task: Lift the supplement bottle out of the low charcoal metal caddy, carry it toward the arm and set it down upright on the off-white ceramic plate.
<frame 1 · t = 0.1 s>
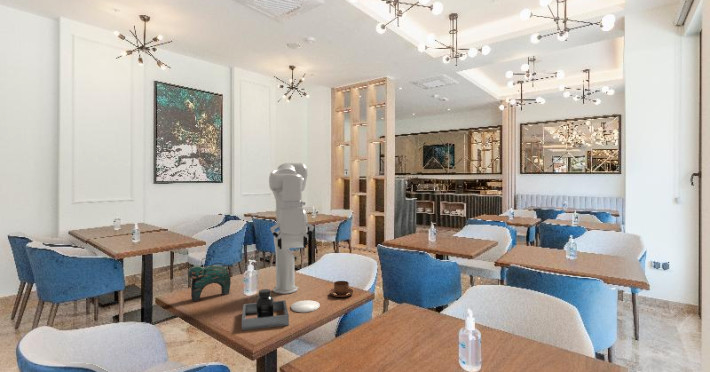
hand: (292, 247, 144), 31 cm above the table, tool pointing down, fingers open, 9 cm apart
ceramic cat: (209, 297, 179), on the table
plate: (305, 307, 164), on the table
caddy: (265, 318, 151), on the table
supplement bottle: (265, 319, 151), resting in caddy
cup and saucer: (341, 295, 181), on the table
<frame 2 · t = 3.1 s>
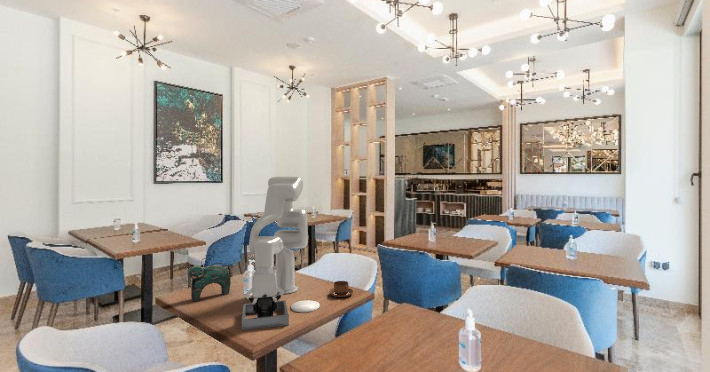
hand: (265, 311, 151), 3 cm above the table, tool pointing down, fingers closed on supplement bottle, 6 cm apart
supplement bottle: (265, 319, 151), resting in caddy, touching gripper
everything else where it was.
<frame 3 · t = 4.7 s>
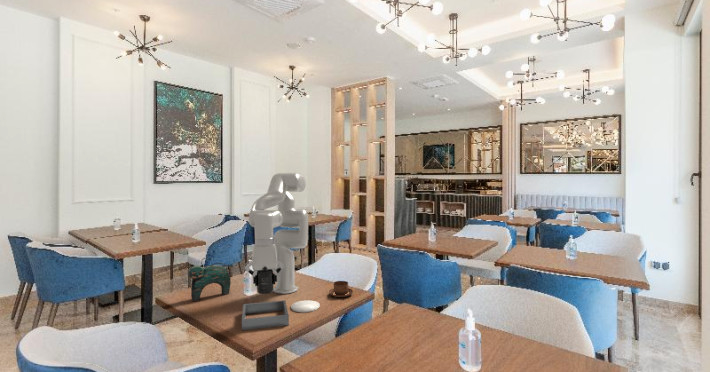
hand: (265, 284, 151), 15 cm above the table, tool pointing down, fingers closed on supplement bottle, 6 cm apart
supplement bottle: (265, 292, 151), point 11 cm above the table, touching gripper
everything else where it was.
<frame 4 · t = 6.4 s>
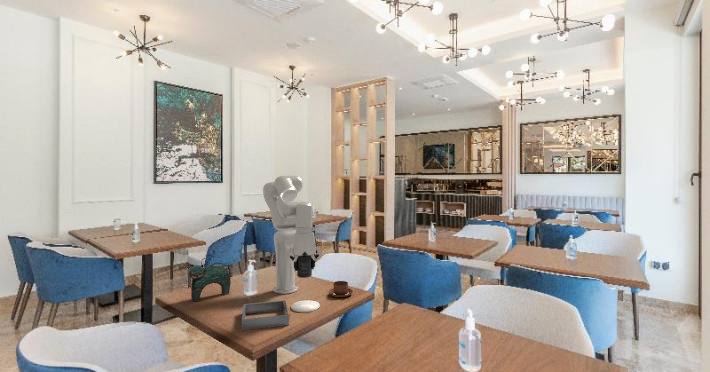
hand: (304, 269, 164), 17 cm above the table, tool pointing down, fingers closed on supplement bottle, 6 cm apart
supplement bottle: (304, 276, 164), point 14 cm above the table, touching gripper
everything else where it was.
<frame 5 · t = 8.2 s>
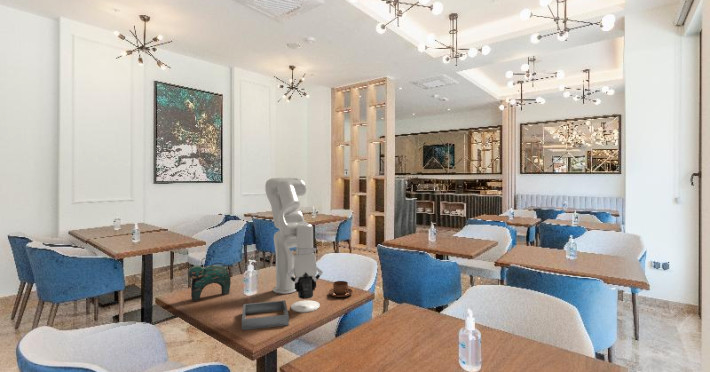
hand: (305, 289, 164), 8 cm above the table, tool pointing down, fingers closed on supplement bottle, 6 cm apart
supplement bottle: (305, 297, 164), point 5 cm above the table, touching gripper
everything else where it was.
when the fingers open (5 cm above the table, at t = 9.8 s): supplement bottle stays where it is, resting on plate.
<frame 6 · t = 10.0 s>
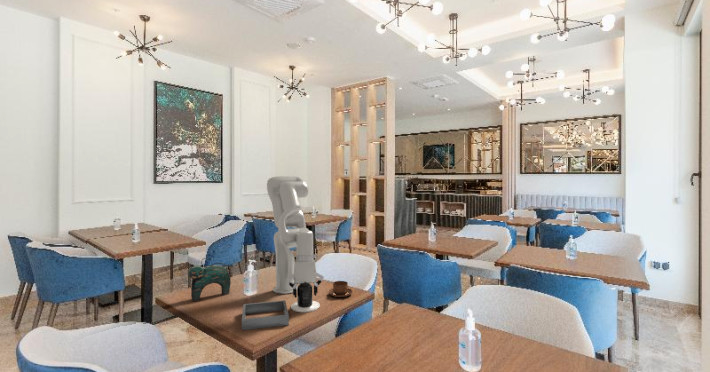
hand: (305, 295, 164), 5 cm above the table, tool pointing down, fingers open, 8 cm apart
supplement bottle: (304, 305, 164), point 1 cm above the table, touching plate
everything else where it was.
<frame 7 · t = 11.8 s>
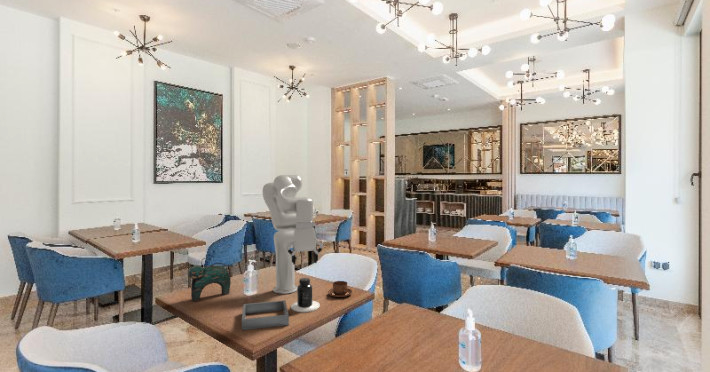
hand: (304, 263, 164), 20 cm above the table, tool pointing down, fingers open, 9 cm apart
nothing on the table moved.
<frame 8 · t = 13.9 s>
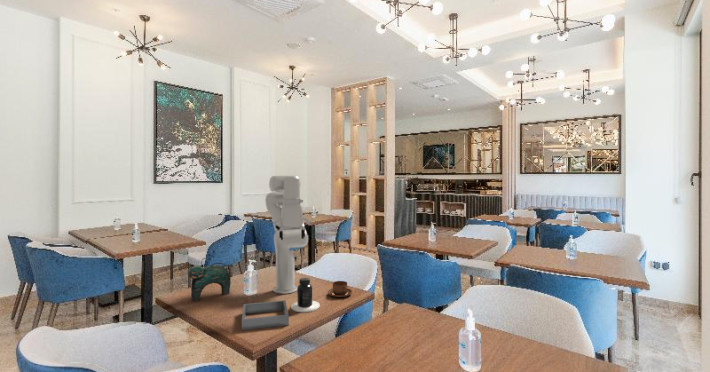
hand: (292, 238, 169), 30 cm above the table, tool pointing down, fingers open, 9 cm apart
nothing on the table moved.
at the end: supplement bottle inside the target area on the plate (0.2 cm from its centre), point 0.6 cm above the plate's base; supplement bottle tilted 0°; the gripper is holding nothing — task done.
